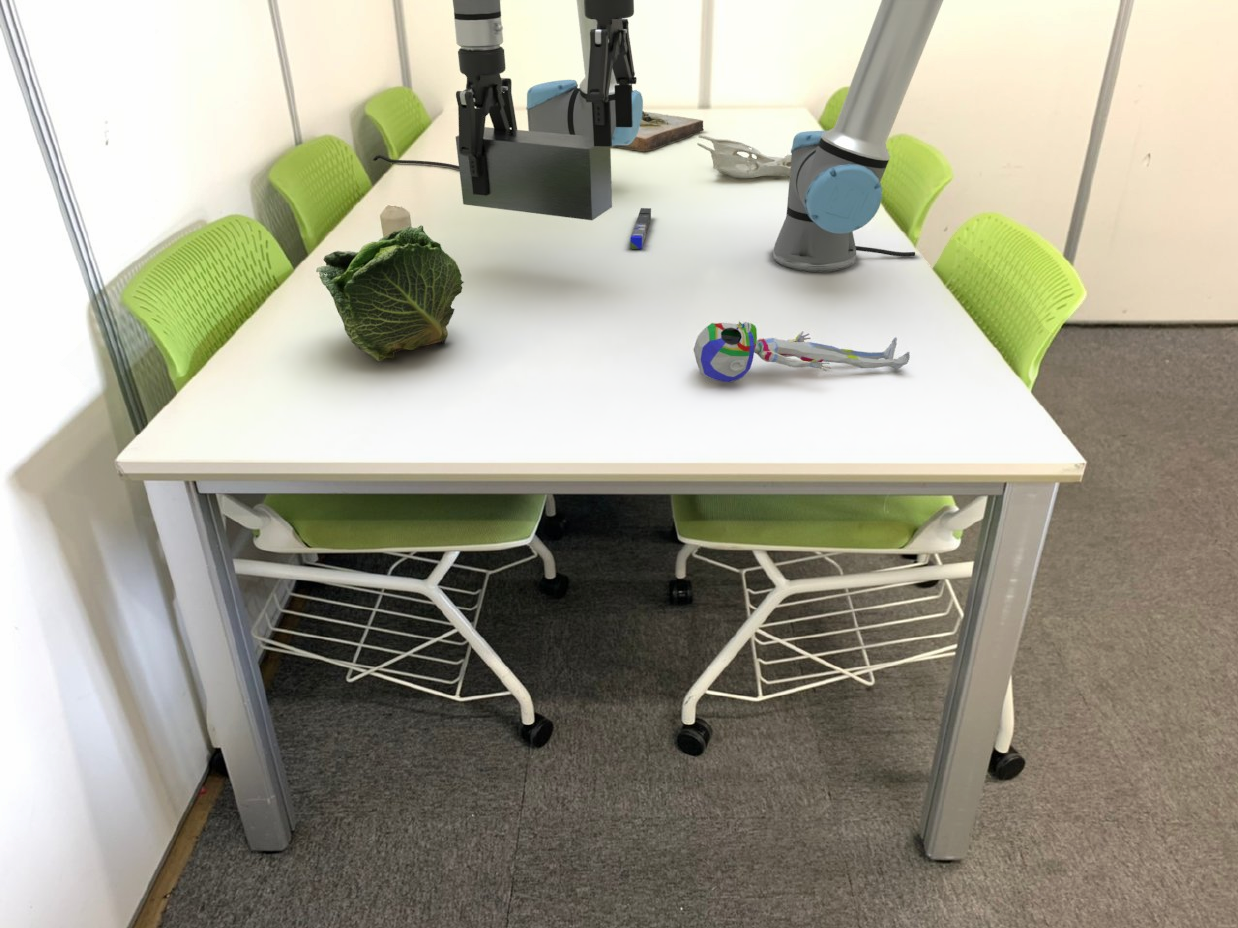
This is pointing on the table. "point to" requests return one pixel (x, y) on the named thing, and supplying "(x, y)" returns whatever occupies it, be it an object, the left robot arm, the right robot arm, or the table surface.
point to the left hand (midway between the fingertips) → (493, 187)
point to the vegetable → (394, 292)
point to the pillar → (640, 228)
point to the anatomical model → (744, 160)
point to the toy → (775, 352)
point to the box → (541, 174)
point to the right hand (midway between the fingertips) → (614, 136)
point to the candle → (394, 219)
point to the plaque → (662, 131)
